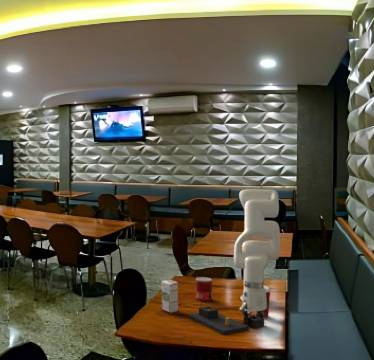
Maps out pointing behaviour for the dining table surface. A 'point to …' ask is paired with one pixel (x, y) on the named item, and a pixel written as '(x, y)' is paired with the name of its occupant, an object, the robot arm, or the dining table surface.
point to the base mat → (220, 323)
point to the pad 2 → (256, 321)
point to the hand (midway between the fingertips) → (253, 323)
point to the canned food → (203, 289)
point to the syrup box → (169, 296)
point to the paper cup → (267, 301)
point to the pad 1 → (208, 312)
